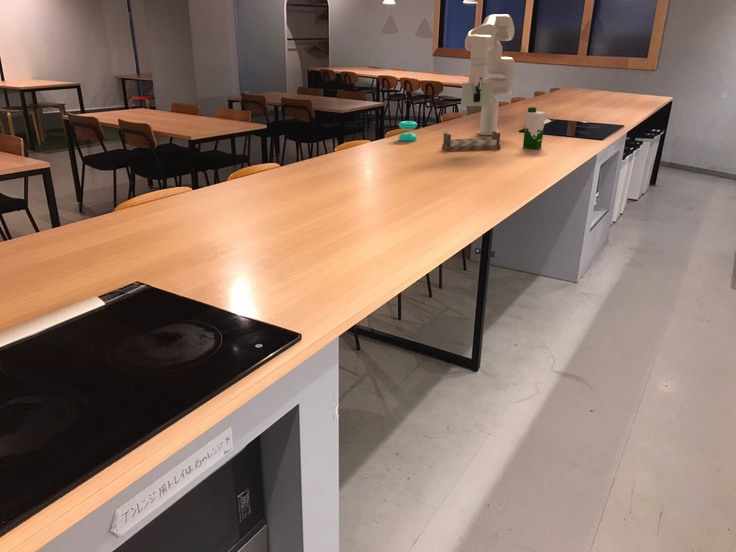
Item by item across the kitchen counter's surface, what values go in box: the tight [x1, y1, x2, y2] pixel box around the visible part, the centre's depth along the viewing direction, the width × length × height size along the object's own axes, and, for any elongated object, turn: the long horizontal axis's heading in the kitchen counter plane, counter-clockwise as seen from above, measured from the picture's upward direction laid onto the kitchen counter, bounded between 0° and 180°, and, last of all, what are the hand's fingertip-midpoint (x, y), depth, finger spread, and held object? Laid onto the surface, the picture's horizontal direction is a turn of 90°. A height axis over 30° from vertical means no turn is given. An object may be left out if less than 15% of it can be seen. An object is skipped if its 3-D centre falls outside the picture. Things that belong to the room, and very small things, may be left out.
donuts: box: [398, 120, 418, 142], centre depth 321 cm, size 10×10×10 cm
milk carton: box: [522, 106, 547, 150], centre depth 298 cm, size 9×9×20 cm
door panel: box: [460, 82, 491, 107], centre depth 290 cm, size 14×3×11 cm, turn 101°
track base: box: [441, 130, 501, 152], centre depth 298 cm, size 28×10×8 cm, turn 101°
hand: (475, 101), depth 291 cm, fingers closed on door panel, 3 cm apart
